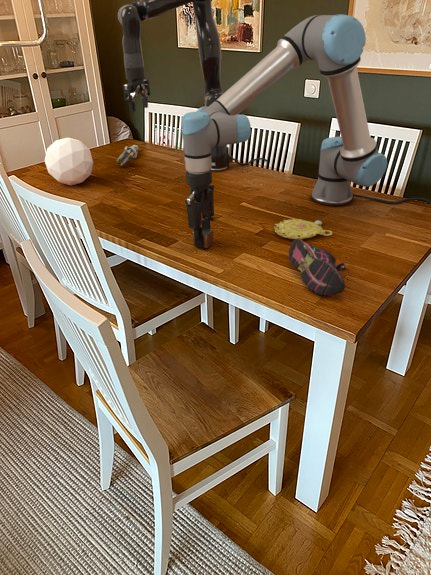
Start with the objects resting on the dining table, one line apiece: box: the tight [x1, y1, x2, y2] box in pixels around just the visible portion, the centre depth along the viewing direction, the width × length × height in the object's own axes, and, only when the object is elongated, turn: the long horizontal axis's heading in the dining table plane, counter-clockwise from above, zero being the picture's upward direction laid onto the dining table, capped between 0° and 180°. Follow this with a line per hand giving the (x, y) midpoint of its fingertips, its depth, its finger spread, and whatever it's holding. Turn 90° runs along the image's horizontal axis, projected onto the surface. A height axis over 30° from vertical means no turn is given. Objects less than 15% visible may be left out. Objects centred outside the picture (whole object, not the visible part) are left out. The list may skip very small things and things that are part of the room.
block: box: [192, 228, 214, 249], centre depth 138 cm, size 4×5×4 cm
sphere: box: [44, 137, 94, 187], centre depth 189 cm, size 19×20×20 cm
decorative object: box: [273, 218, 333, 241], centre depth 145 cm, size 21×2×20 cm
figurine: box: [115, 144, 140, 167], centre depth 221 cm, size 7×8×30 cm
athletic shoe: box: [288, 239, 349, 296], centre depth 119 cm, size 11×22×12 cm
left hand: (139, 109), depth 181 cm, fingers open, 8 cm apart
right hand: (203, 242), depth 139 cm, fingers closed on block, 4 cm apart
